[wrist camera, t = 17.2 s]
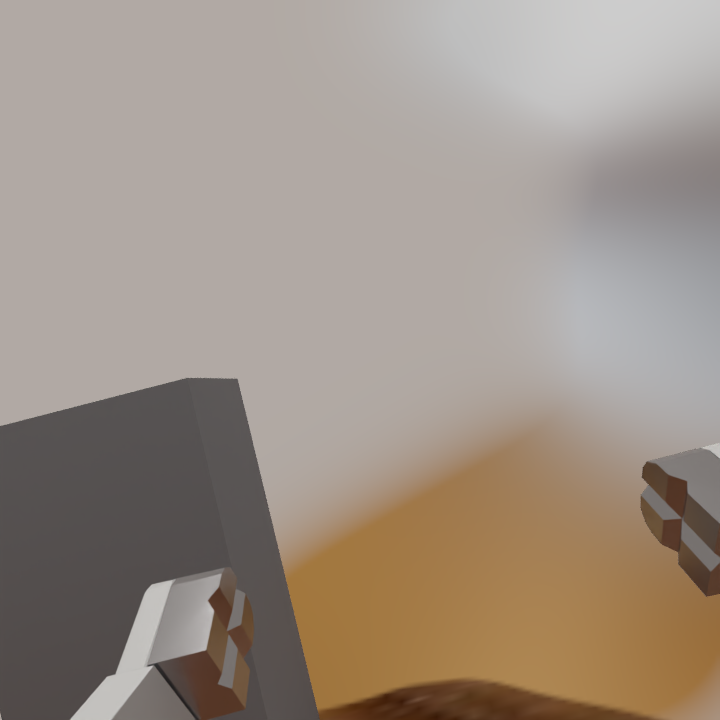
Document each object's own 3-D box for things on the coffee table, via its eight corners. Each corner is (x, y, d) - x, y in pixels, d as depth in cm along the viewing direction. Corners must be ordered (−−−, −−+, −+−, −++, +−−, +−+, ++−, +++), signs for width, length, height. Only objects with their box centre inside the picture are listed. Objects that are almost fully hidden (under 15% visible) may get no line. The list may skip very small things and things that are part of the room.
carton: (321, 948, 20) (187, 378, 22) (61, 1009, 20) (-56, 440, 22) (335, 787, 28) (237, 378, 30) (149, 832, 28) (59, 424, 30)
